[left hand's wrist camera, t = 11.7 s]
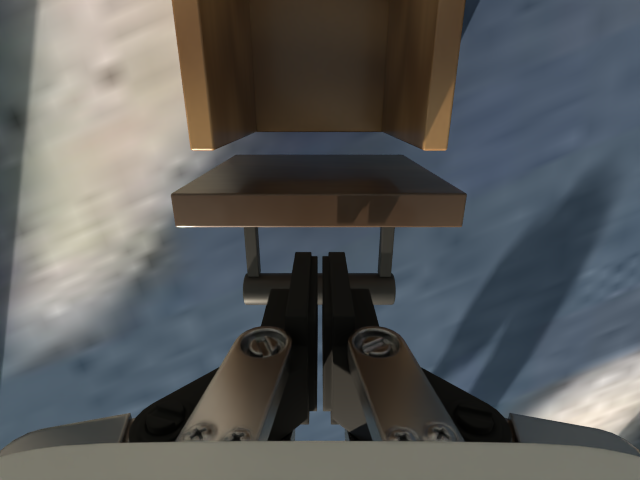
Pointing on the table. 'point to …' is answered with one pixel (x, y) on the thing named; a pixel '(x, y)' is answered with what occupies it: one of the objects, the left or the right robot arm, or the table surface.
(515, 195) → the table surface
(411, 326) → the table surface
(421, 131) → the drawer
